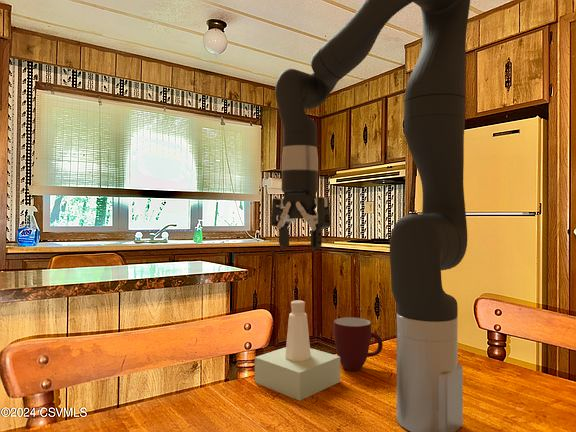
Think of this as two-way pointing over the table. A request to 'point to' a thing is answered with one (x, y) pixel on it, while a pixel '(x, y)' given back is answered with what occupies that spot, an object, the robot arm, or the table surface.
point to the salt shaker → (298, 334)
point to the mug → (354, 342)
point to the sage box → (297, 373)
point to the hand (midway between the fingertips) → (299, 248)
